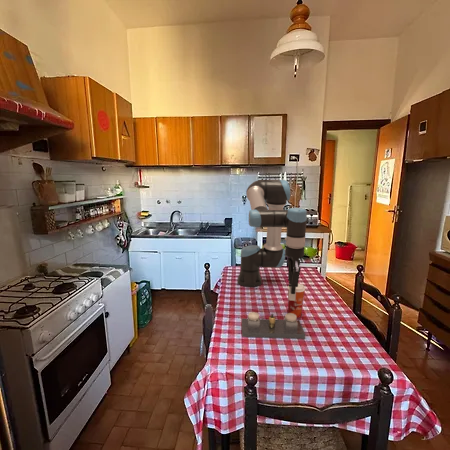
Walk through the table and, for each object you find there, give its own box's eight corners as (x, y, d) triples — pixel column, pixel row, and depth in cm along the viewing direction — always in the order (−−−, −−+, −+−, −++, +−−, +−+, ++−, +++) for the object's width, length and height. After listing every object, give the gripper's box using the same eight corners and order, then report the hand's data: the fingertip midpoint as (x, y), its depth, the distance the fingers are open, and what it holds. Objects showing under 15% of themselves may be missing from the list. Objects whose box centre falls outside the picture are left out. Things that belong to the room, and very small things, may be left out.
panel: (241, 322, 122) (241, 311, 121) (298, 324, 121) (299, 313, 120) (242, 336, 111) (242, 325, 110) (305, 338, 110) (305, 327, 109)
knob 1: (247, 321, 118) (248, 311, 117) (258, 322, 118) (258, 312, 117) (248, 327, 114) (248, 317, 113) (259, 327, 113) (259, 317, 113)
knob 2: (284, 322, 117) (284, 312, 117) (294, 323, 117) (295, 313, 116) (286, 328, 113) (286, 318, 112) (297, 329, 113) (297, 318, 112)
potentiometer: (268, 324, 117) (269, 312, 116) (274, 324, 117) (275, 312, 116) (269, 327, 114) (269, 315, 113) (275, 327, 114) (275, 316, 113)
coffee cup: (291, 320, 124) (293, 290, 121) (282, 311, 132) (284, 283, 129) (307, 317, 126) (309, 288, 124) (298, 309, 134) (299, 281, 131)
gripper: (283, 241, 115) (280, 292, 120) (288, 250, 103) (285, 306, 107) (300, 242, 115) (297, 293, 120) (308, 250, 102) (304, 307, 107)
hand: (291, 299), depth 113 cm, fingers closed
